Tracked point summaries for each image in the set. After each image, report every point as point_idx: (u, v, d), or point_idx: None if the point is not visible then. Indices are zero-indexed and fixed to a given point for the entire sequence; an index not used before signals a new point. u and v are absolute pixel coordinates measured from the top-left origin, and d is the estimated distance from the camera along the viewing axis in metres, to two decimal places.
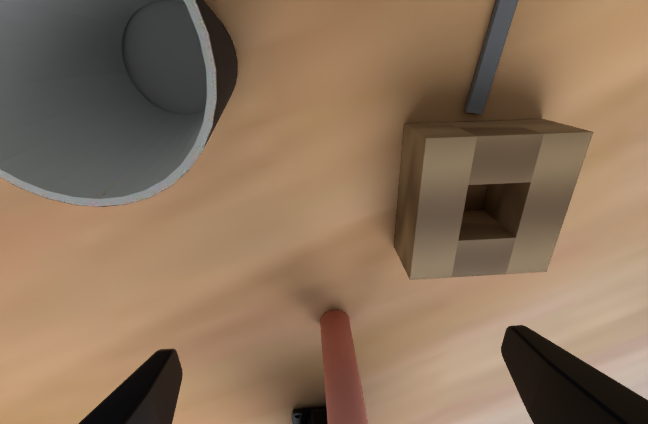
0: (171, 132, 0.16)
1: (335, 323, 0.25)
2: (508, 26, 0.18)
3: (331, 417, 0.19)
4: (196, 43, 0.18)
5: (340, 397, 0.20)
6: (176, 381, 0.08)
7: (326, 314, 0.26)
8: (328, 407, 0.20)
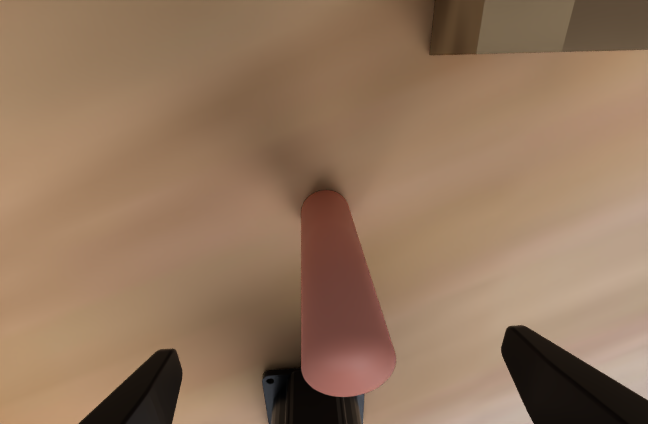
0: None
1: (325, 202, 0.14)
2: None
3: (308, 329, 0.08)
4: None
5: (329, 291, 0.09)
6: (176, 381, 0.08)
7: (311, 196, 0.16)
8: (304, 314, 0.09)
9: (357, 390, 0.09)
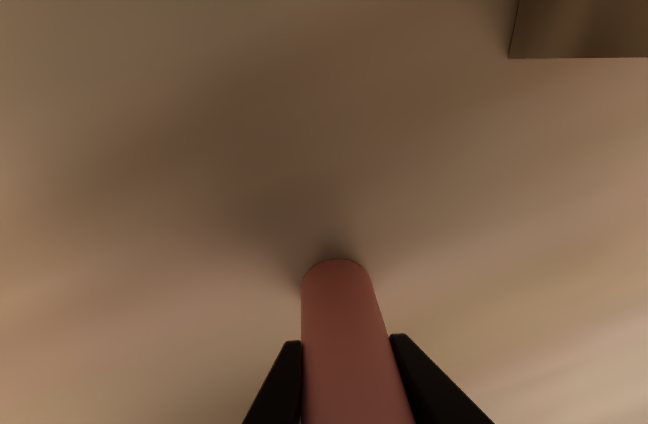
0: None
1: (338, 287, 0.09)
2: None
3: None
4: None
5: None
6: None
7: (315, 269, 0.10)
8: None
9: None
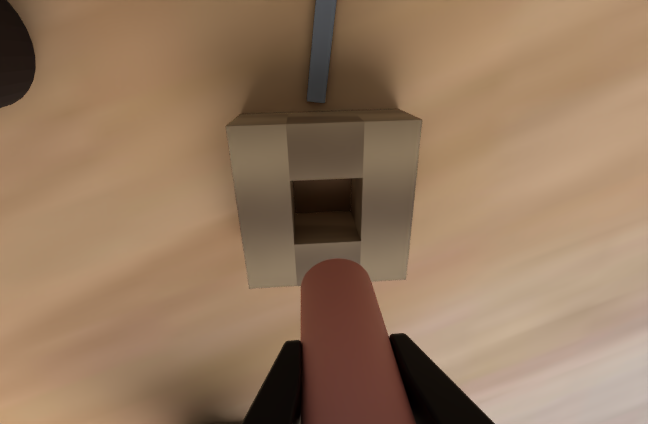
0: None
1: (338, 287, 0.09)
2: (334, 2, 0.16)
3: None
4: None
5: None
6: None
7: (315, 269, 0.10)
8: None
9: None
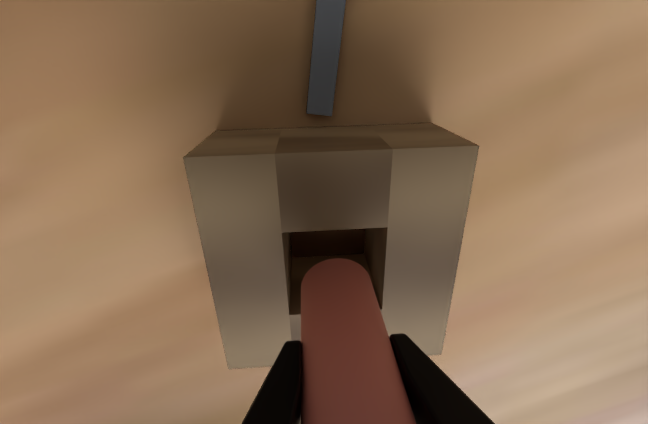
0: None
1: (338, 287, 0.09)
2: None
3: None
4: None
5: None
6: None
7: (315, 268, 0.10)
8: None
9: None
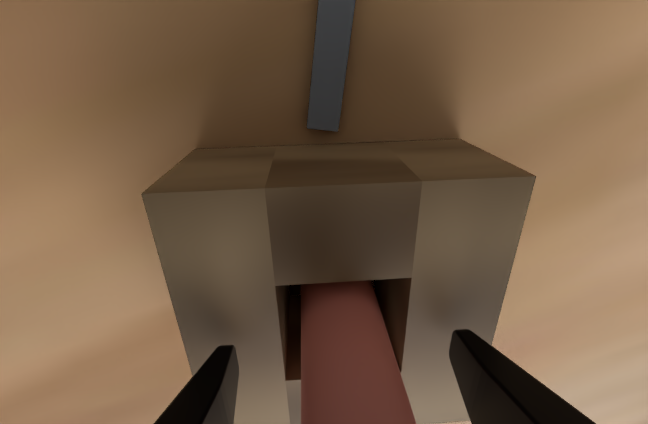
0: None
1: None
2: None
3: None
4: None
5: None
6: (235, 377, 0.08)
7: None
8: None
9: None
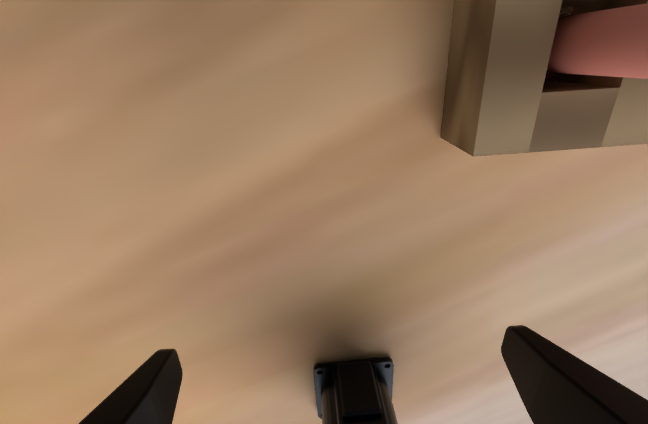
0: None
1: None
2: None
3: None
4: None
5: None
6: (176, 381, 0.08)
7: None
8: None
9: None
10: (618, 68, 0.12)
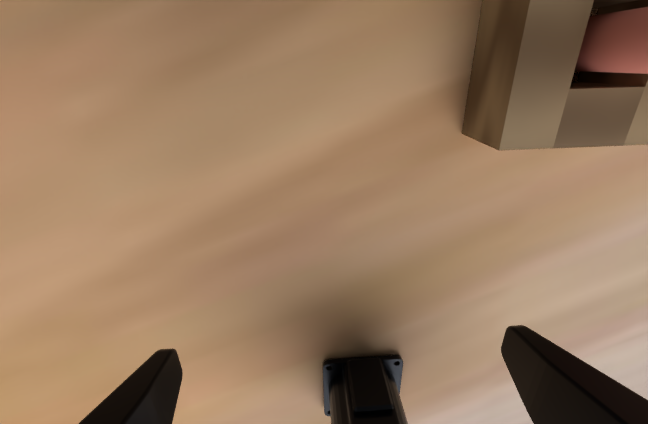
0: None
1: None
2: None
3: None
4: None
5: None
6: (176, 381, 0.08)
7: None
8: None
9: None
10: None
